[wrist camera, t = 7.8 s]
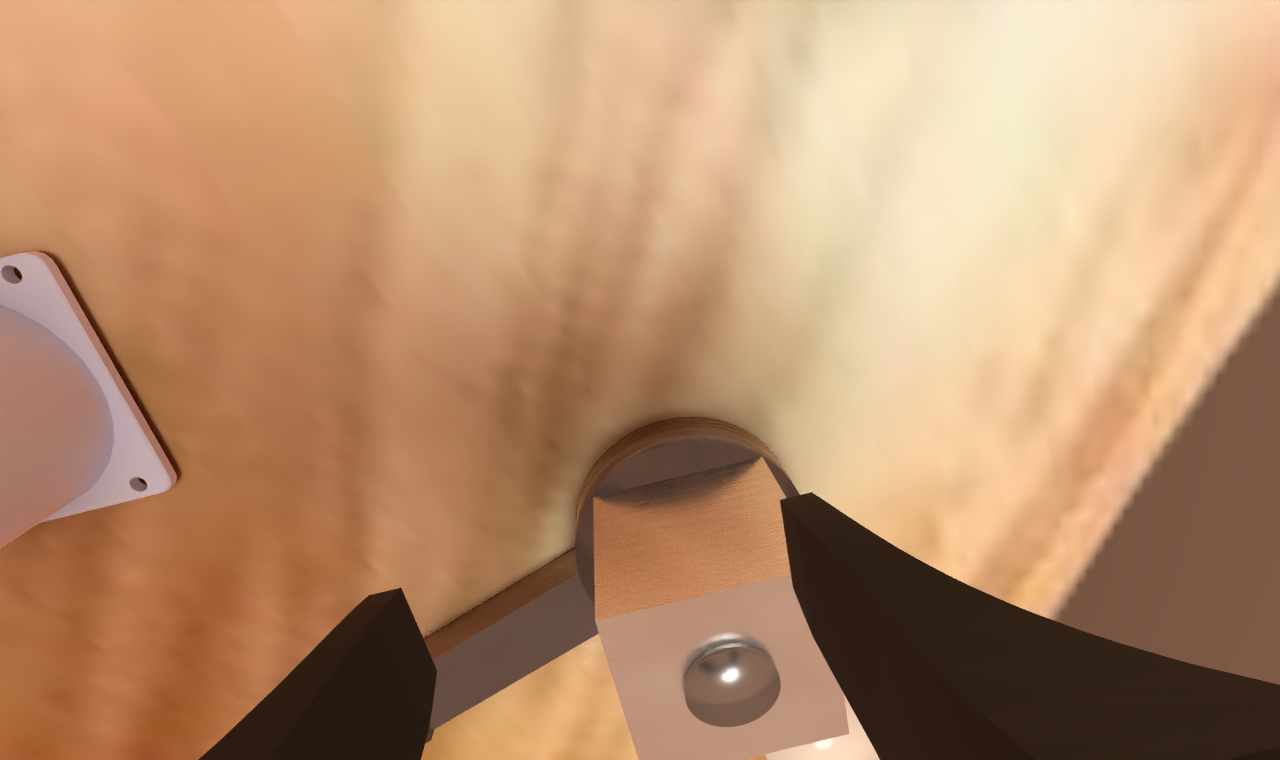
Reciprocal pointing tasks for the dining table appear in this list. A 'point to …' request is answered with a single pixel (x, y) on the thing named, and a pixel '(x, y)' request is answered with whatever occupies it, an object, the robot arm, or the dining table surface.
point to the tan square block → (708, 619)
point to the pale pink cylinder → (833, 745)
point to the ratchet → (572, 568)
